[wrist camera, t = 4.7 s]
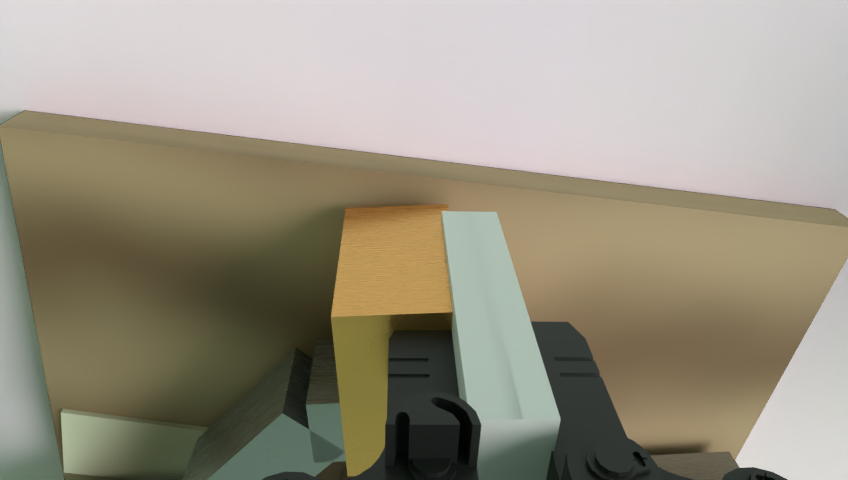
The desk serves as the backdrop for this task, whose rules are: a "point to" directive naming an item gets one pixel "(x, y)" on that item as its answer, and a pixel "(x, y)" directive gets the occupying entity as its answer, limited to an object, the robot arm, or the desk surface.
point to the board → (317, 268)
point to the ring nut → (357, 362)
